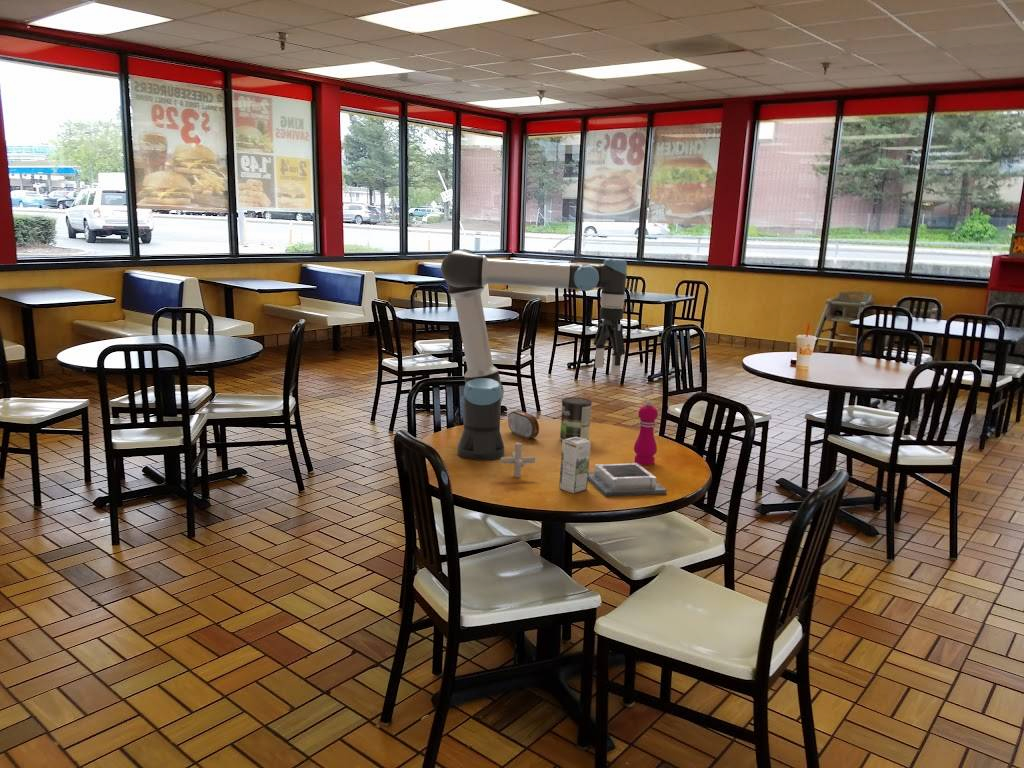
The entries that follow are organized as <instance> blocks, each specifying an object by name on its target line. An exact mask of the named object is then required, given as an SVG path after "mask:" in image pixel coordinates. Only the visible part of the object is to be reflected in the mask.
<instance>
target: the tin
mask: <svg viewBox="0 0 1024 768" xmlns="http://www.w3.org/2000/svg"><path fill="white" fill-rule="evenodd" d="M507 418H508V419H507V421H508V427H509V430H510V431H511V432H512V433H513V434H515V435H517V434H518V435H517V436H520V437H522V436H523V437H522V438H524V437H526V438H525V439H527V438H529V440H530V439H532V438H533V439H536V438H537V436H538V435H539V432H540V426H539V422H538V419H537V418H536V417H535V416H534V415H533V414H530V413H528V412H525V411H523V410H520V409H516V410H514V411H510V412H509V414H508V416H507Z"/></svg>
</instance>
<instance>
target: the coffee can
mask: <svg viewBox="0 0 1024 768" xmlns="http://www.w3.org/2000/svg"><path fill="white" fill-rule="evenodd" d="M592 404H593V402H592V400H590V399H588V398H584V397H577V396H576V397H574V396H572V397H571V396H570V397H564V398H562V399H561V414H560V415H561V417H560V431H559V433H560V434H559V436H560V437H559V440H564V439H568V438H572V437H581V438H584V439H587V440H589V441H590V428H591V427H590V426H591V412H592V411H591V410H592Z"/></svg>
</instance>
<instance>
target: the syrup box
mask: <svg viewBox="0 0 1024 768" xmlns="http://www.w3.org/2000/svg"><path fill="white" fill-rule="evenodd" d="M561 442H562V443H561V453H560V454H561V455H560V472H559V485H558V487H559V489H560V490H563V491H565V492H568V493H572V494H577V493H580V492H583V491H587V490H588V486H589V485H588V483H589V480H588V472H590V471H589V469H590V459H591V458H590V456H591V447H592V442H591V440H590V439H589V440H587V439H584V438H581V437H572V438H568V439H564V440H562V441H561Z"/></svg>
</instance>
